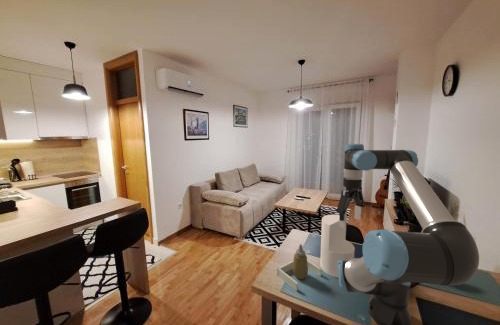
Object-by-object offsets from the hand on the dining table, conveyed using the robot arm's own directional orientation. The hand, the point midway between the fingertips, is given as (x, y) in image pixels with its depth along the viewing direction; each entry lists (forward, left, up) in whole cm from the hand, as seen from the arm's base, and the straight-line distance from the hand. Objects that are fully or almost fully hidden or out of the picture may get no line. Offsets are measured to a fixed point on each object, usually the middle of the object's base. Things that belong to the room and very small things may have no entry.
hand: (350, 223), depth 96 cm
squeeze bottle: (+20, +11, -35) cm, 41 cm away
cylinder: (+13, -11, -35) cm, 38 cm away
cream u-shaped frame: (+20, +11, -34) cm, 41 cm away
